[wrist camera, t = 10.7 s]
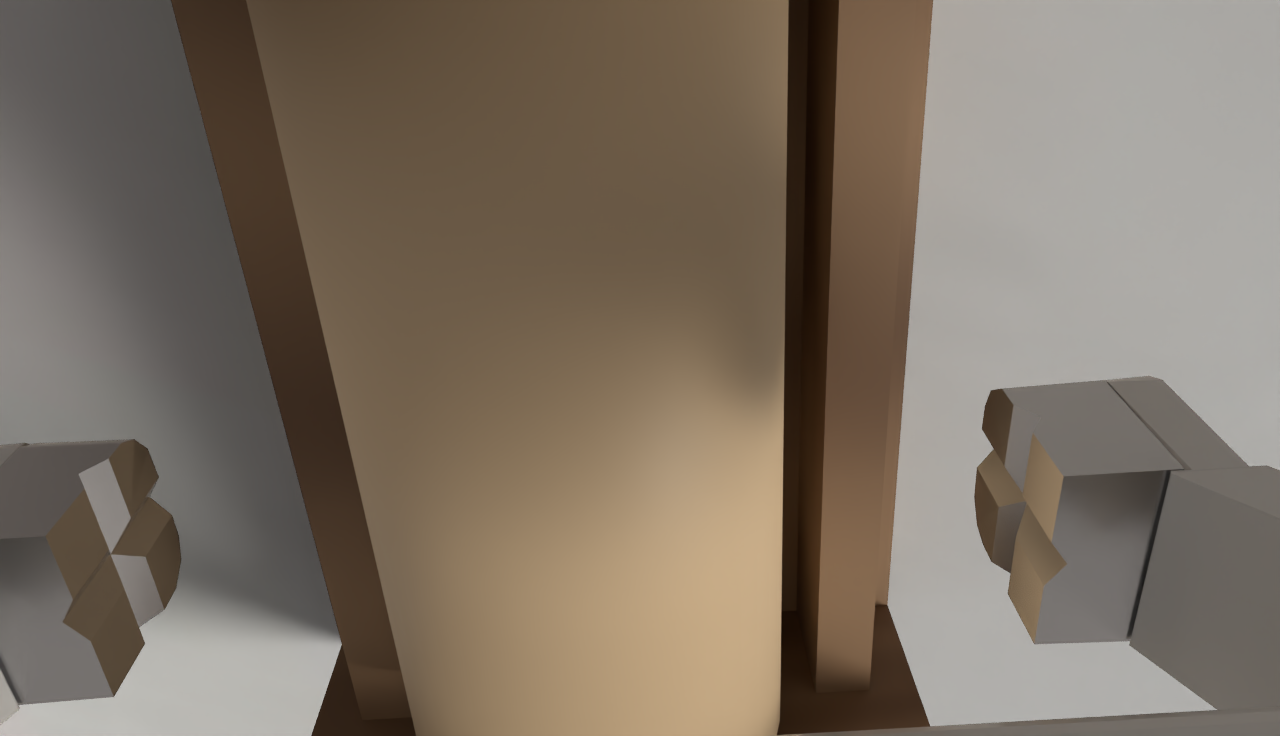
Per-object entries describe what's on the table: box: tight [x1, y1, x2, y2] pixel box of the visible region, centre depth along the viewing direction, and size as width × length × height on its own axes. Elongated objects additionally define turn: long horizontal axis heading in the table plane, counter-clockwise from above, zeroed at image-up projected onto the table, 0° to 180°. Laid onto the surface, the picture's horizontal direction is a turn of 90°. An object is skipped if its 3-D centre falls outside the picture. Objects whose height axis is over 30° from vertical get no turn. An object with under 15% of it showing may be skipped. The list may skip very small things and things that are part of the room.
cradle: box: [171, 0, 933, 736], centre depth 11 cm, size 14×9×8 cm, turn 3°
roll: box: [246, 0, 789, 736], centre depth 12 cm, size 10×5×5 cm, turn 3°
